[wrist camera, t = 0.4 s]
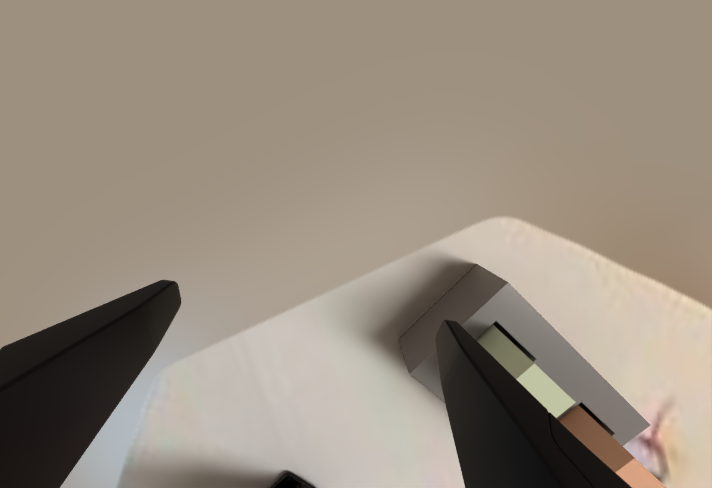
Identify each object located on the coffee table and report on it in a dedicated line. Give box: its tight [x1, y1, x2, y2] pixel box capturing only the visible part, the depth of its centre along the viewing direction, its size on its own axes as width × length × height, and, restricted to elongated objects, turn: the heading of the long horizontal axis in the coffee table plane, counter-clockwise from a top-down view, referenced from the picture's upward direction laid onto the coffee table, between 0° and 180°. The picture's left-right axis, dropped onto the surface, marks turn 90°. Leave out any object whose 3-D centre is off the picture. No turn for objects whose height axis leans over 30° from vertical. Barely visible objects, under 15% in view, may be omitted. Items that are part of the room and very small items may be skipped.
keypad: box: [398, 264, 650, 446], centre depth 25 cm, size 11×21×5 cm, turn 47°
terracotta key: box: [559, 405, 666, 488], centre depth 22 cm, size 5×5×6 cm
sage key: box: [475, 324, 576, 418], centre depth 20 cm, size 5×5×6 cm
